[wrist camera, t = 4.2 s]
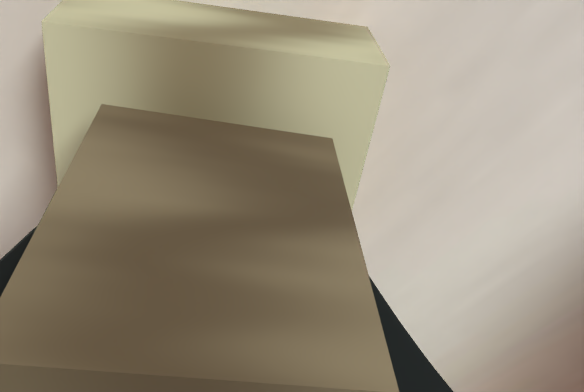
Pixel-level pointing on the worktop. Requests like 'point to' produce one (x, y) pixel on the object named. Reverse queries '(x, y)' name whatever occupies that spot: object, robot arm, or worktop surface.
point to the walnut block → (194, 268)
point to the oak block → (213, 72)
